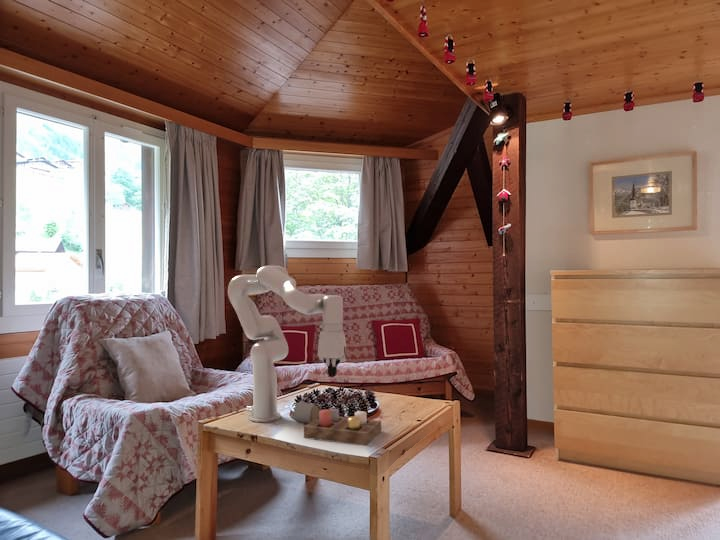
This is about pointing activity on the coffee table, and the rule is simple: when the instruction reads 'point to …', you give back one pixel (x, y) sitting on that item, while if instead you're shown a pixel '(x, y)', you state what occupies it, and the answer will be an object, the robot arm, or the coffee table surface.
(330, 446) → the coffee table surface
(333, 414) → the gray block
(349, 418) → the gold round piece
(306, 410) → the ceramic mug
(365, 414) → the cream white block
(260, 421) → the robot arm
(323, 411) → the pink cylinder
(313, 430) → the box
